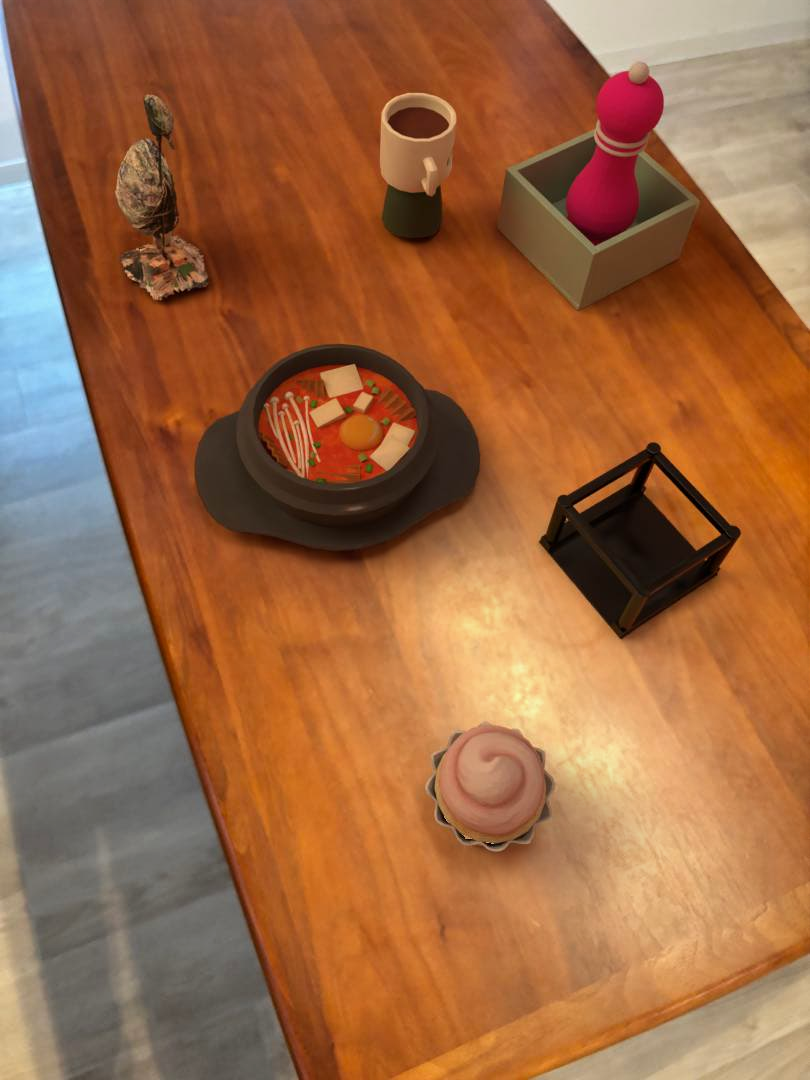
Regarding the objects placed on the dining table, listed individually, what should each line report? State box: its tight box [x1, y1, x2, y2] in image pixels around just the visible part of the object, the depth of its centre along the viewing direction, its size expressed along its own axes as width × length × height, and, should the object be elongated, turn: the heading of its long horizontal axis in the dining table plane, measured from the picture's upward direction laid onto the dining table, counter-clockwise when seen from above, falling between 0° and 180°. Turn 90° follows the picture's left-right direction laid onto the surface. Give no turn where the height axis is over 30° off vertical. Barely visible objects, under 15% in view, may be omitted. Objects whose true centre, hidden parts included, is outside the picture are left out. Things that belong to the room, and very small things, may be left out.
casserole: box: [194, 343, 481, 552], centre depth 86 cm, size 25×19×8 cm
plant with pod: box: [114, 94, 211, 301], centre depth 92 cm, size 8×11×20 cm
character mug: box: [379, 92, 457, 239], centre depth 100 cm, size 11×7×13 cm, turn 16°
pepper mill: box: [566, 61, 665, 246], centre depth 96 cm, size 7×7×20 cm
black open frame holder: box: [538, 441, 742, 640], centre depth 84 cm, size 11×11×8 cm
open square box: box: [496, 128, 701, 311], centre depth 102 cm, size 14×14×8 cm
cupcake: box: [424, 720, 556, 852], centre depth 71 cm, size 9×9×10 cm
